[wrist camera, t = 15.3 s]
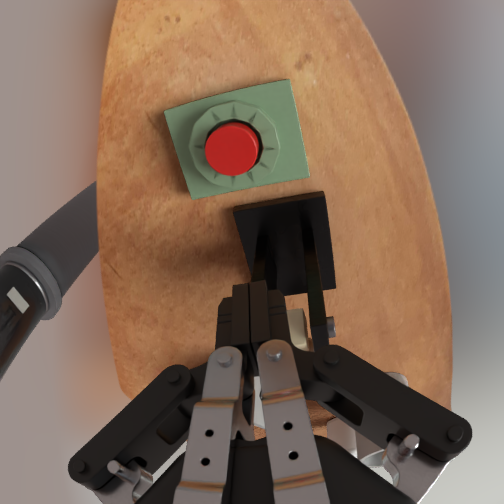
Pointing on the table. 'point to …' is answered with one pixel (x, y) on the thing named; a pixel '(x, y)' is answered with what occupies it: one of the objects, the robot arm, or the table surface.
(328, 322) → the bracket
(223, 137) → the button
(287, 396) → the robot arm
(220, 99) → the button block
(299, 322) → the lever
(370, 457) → the cup
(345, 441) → the eye dropper bottle
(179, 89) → the table surface
